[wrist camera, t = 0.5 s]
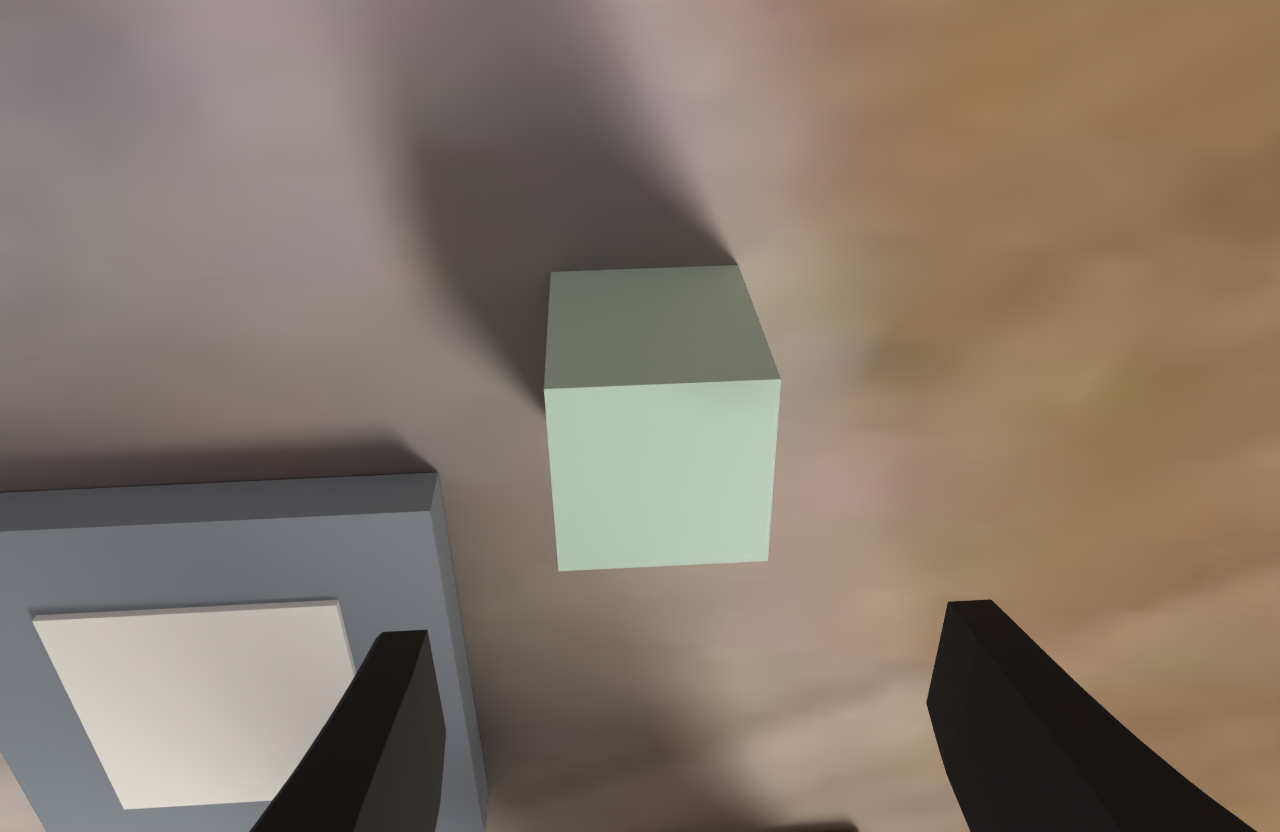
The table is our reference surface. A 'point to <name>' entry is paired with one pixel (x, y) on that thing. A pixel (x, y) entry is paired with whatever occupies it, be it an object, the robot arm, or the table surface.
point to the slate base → (214, 642)
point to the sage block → (659, 418)
